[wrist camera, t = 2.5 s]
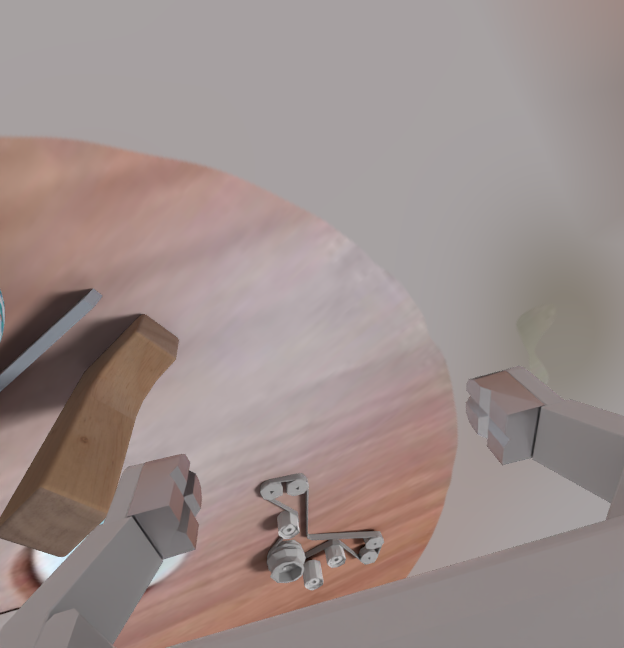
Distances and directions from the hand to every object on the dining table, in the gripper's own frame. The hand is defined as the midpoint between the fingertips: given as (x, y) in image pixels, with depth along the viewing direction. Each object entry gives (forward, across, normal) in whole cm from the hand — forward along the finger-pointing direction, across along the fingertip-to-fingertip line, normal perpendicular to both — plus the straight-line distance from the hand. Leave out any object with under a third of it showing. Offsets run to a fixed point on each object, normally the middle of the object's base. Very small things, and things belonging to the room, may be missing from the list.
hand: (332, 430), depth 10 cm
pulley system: (+27, -6, -46) cm, 54 cm away
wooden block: (+26, -17, -9) cm, 33 cm away
